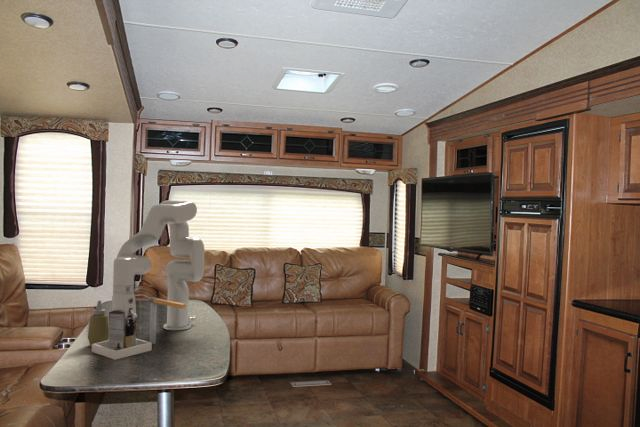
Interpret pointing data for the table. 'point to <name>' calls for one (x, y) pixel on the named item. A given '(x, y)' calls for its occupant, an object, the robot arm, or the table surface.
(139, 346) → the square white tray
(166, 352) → the table surface
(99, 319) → the squeeze bottle
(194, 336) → the table surface
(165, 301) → the bar
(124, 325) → the coffee box
